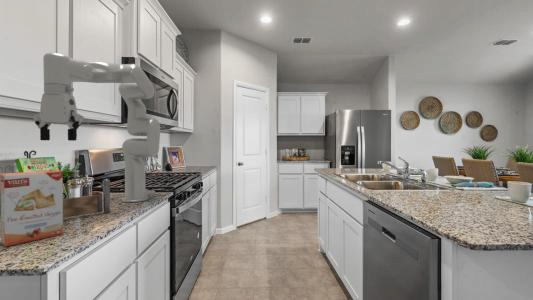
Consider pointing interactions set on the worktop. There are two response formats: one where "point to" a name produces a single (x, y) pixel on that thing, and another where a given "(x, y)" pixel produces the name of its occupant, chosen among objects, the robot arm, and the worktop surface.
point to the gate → (82, 205)
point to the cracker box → (31, 206)
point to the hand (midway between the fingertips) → (58, 140)
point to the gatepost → (106, 196)
